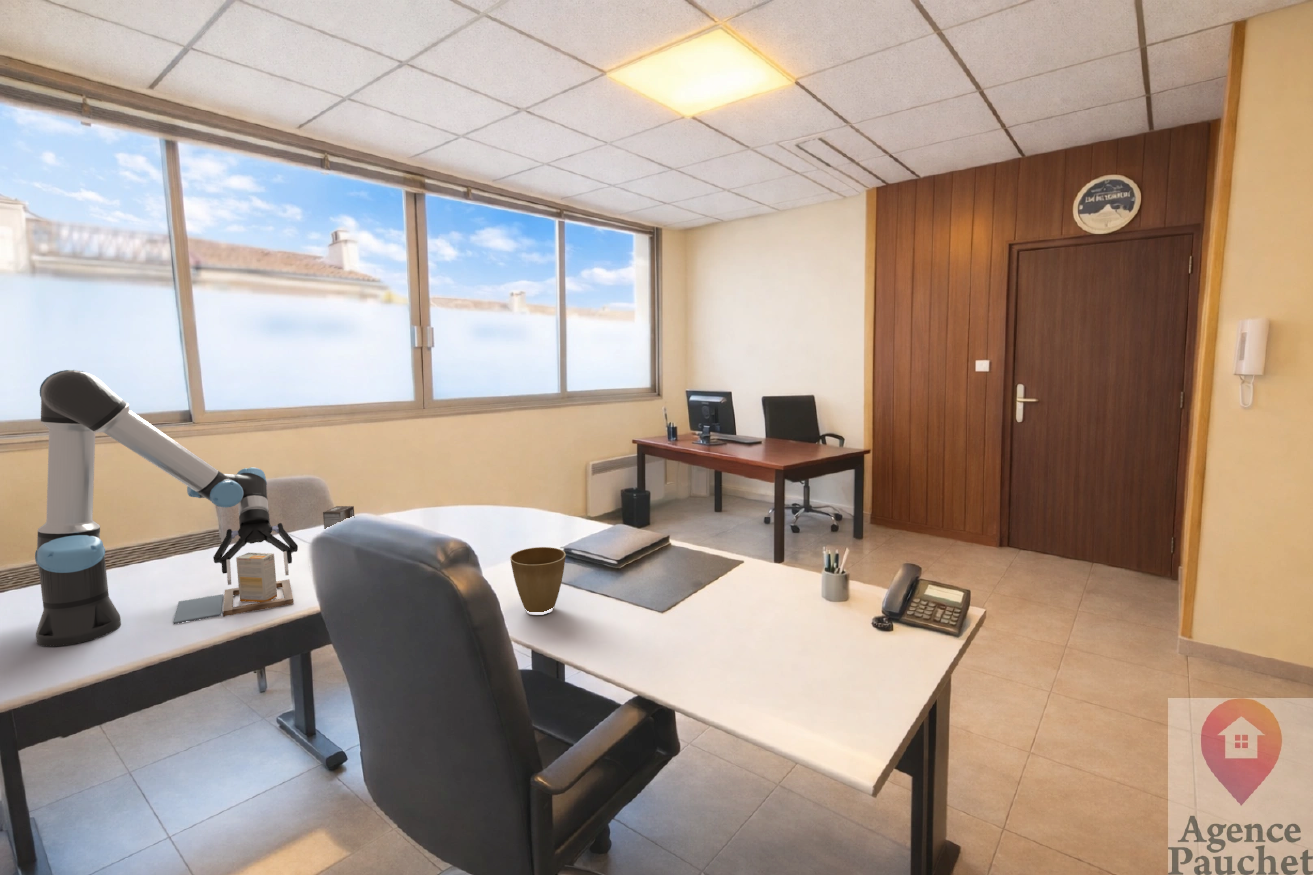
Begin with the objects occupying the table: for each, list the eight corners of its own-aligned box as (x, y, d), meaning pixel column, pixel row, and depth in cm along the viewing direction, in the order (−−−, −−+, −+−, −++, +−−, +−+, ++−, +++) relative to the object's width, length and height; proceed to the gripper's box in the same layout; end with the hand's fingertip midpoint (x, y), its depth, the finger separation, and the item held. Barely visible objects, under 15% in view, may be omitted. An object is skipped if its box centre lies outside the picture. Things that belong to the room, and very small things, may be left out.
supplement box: (278, 596, 173) (275, 552, 171) (266, 603, 168) (262, 558, 167) (251, 595, 174) (248, 551, 172) (238, 601, 169) (235, 556, 167)
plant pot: (533, 596, 176) (533, 543, 174) (576, 606, 169) (576, 551, 167) (499, 615, 163) (498, 558, 161) (544, 626, 156) (543, 567, 154)
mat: (173, 624, 154) (173, 622, 154) (178, 603, 167) (178, 601, 167) (221, 615, 160) (221, 613, 160) (222, 596, 173) (222, 594, 173)
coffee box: (339, 548, 217) (336, 505, 216) (356, 549, 217) (354, 505, 215) (325, 556, 208) (322, 511, 206) (343, 557, 208) (340, 512, 206)
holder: (223, 616, 159) (222, 611, 159) (225, 594, 174) (224, 589, 174) (293, 603, 168) (293, 598, 168) (289, 583, 183) (289, 579, 183)
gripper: (301, 515, 189) (309, 575, 179) (203, 526, 175) (205, 592, 165) (302, 502, 184) (309, 563, 174) (200, 513, 170) (202, 580, 160)
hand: (258, 577), depth 169 cm, fingers open, 13 cm apart
